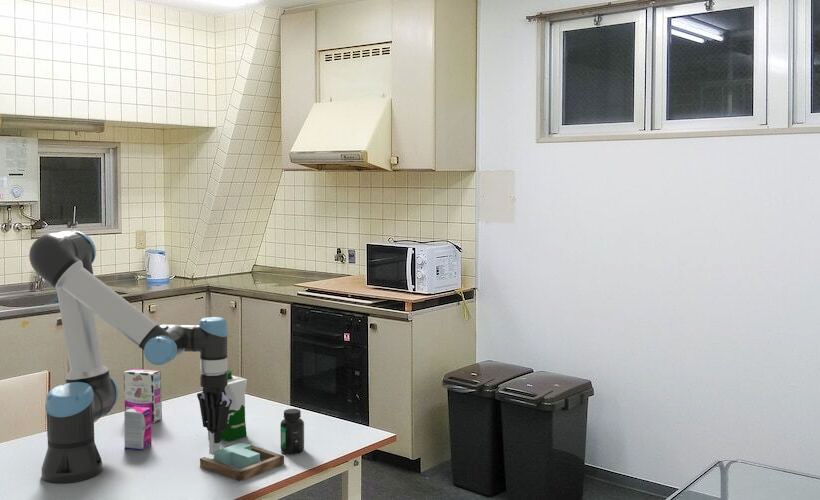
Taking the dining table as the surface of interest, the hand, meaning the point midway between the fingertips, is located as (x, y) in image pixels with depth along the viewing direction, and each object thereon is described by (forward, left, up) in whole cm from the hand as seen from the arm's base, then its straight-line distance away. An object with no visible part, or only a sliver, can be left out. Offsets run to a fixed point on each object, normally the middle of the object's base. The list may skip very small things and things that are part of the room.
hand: (214, 452), depth 230 cm
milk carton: (+14, +10, -1) cm, 18 cm away
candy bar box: (+7, +45, -1) cm, 46 cm away
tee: (+1, -11, -1) cm, 11 cm away
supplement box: (-9, +24, -1) cm, 26 cm away
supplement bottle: (+17, -14, -1) cm, 22 cm away
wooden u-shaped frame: (0, -11, -1) cm, 11 cm away
